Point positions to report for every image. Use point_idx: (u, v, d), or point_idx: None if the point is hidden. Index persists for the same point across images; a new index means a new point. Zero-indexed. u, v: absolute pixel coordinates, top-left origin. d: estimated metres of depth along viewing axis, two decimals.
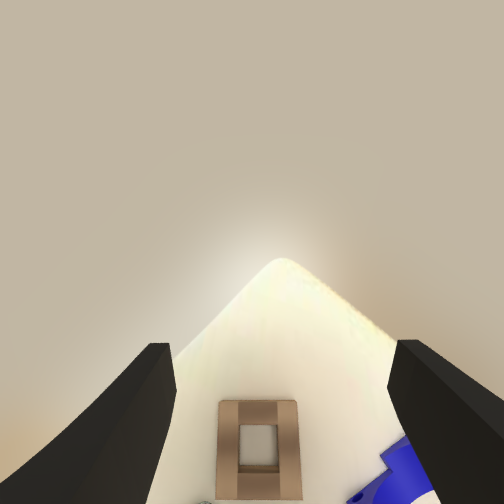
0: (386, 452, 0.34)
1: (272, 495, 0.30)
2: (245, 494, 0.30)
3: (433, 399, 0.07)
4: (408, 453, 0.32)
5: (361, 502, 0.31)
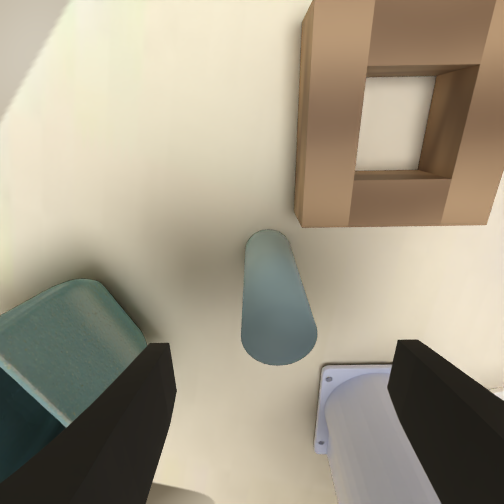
0: None
1: (424, 218, 0.14)
2: (367, 218, 0.14)
3: (433, 399, 0.07)
4: None
5: None
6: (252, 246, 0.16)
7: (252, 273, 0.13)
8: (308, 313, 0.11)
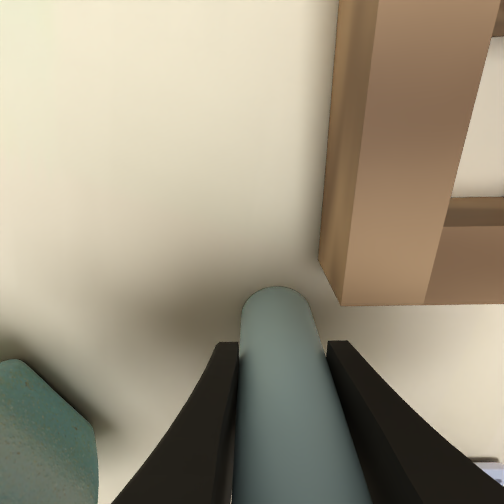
0: None
1: None
2: (459, 290, 0.08)
3: (348, 400, 0.07)
4: None
5: None
6: (252, 322, 0.10)
7: (251, 404, 0.07)
8: None
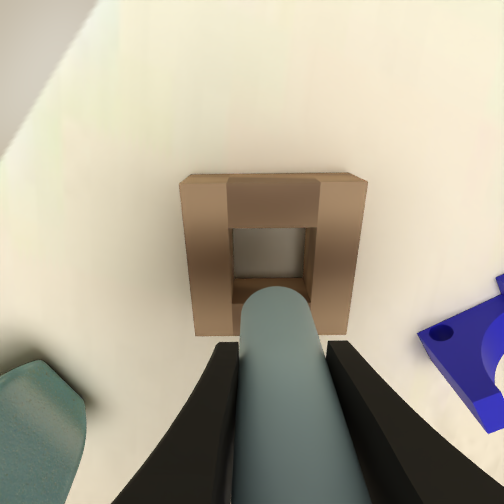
0: None
1: None
2: None
3: (348, 400, 0.07)
4: None
5: (452, 346, 0.19)
6: (253, 320, 0.10)
7: (252, 401, 0.07)
8: None
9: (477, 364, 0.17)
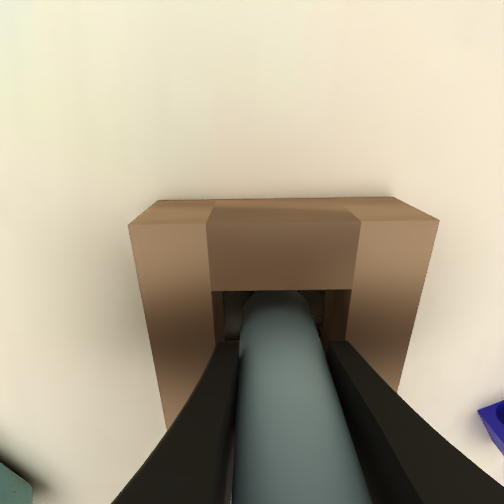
0: None
1: None
2: None
3: (348, 399, 0.07)
4: None
5: None
6: (253, 320, 0.10)
7: (253, 400, 0.07)
8: None
9: None
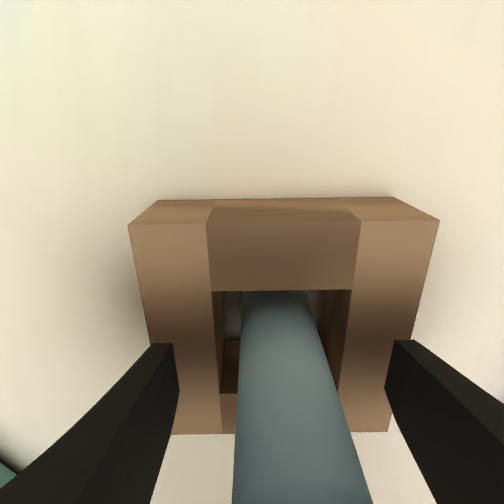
0: None
1: None
2: None
3: (429, 399, 0.07)
4: None
5: None
6: (254, 300, 0.11)
7: (253, 362, 0.08)
8: (363, 492, 0.05)
9: None
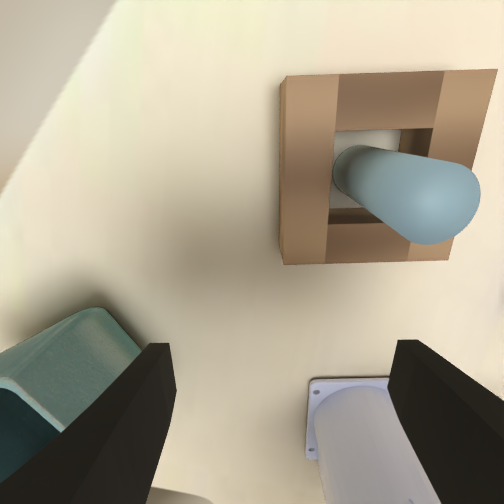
0: None
1: (392, 255, 0.16)
2: (341, 255, 0.16)
3: (433, 399, 0.07)
4: None
5: None
6: (353, 154, 0.15)
7: (376, 162, 0.12)
8: (474, 178, 0.10)
9: None
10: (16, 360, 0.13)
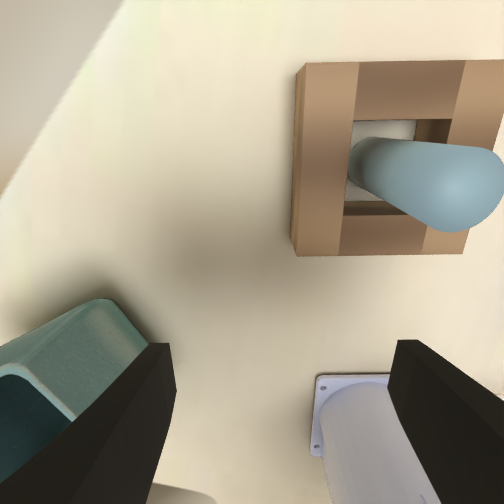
0: None
1: (406, 248, 0.16)
2: (355, 248, 0.16)
3: (433, 398, 0.07)
4: None
5: None
6: (368, 145, 0.15)
7: (395, 151, 0.12)
8: (500, 164, 0.09)
9: None
10: (27, 347, 0.12)
